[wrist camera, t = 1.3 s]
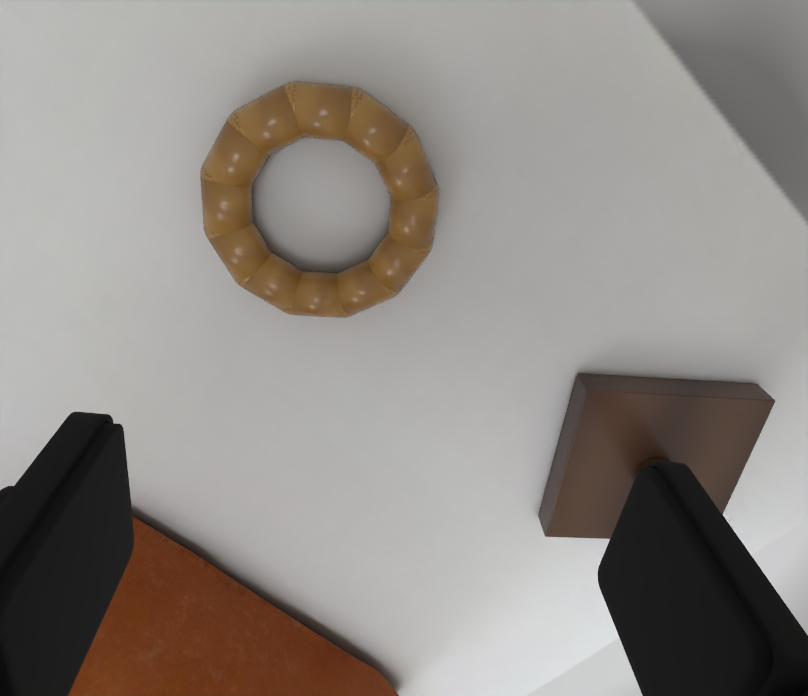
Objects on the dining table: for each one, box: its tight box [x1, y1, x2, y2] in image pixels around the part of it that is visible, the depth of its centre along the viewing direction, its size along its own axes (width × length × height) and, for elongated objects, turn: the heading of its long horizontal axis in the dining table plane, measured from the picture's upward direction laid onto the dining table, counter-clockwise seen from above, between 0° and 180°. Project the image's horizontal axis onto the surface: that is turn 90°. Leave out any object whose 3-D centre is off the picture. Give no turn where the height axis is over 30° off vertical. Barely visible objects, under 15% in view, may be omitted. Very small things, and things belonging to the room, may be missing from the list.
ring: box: [200, 82, 439, 318], centre depth 23 cm, size 9×9×2 cm
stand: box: [539, 374, 775, 539], centre depth 26 cm, size 9×9×12 cm
